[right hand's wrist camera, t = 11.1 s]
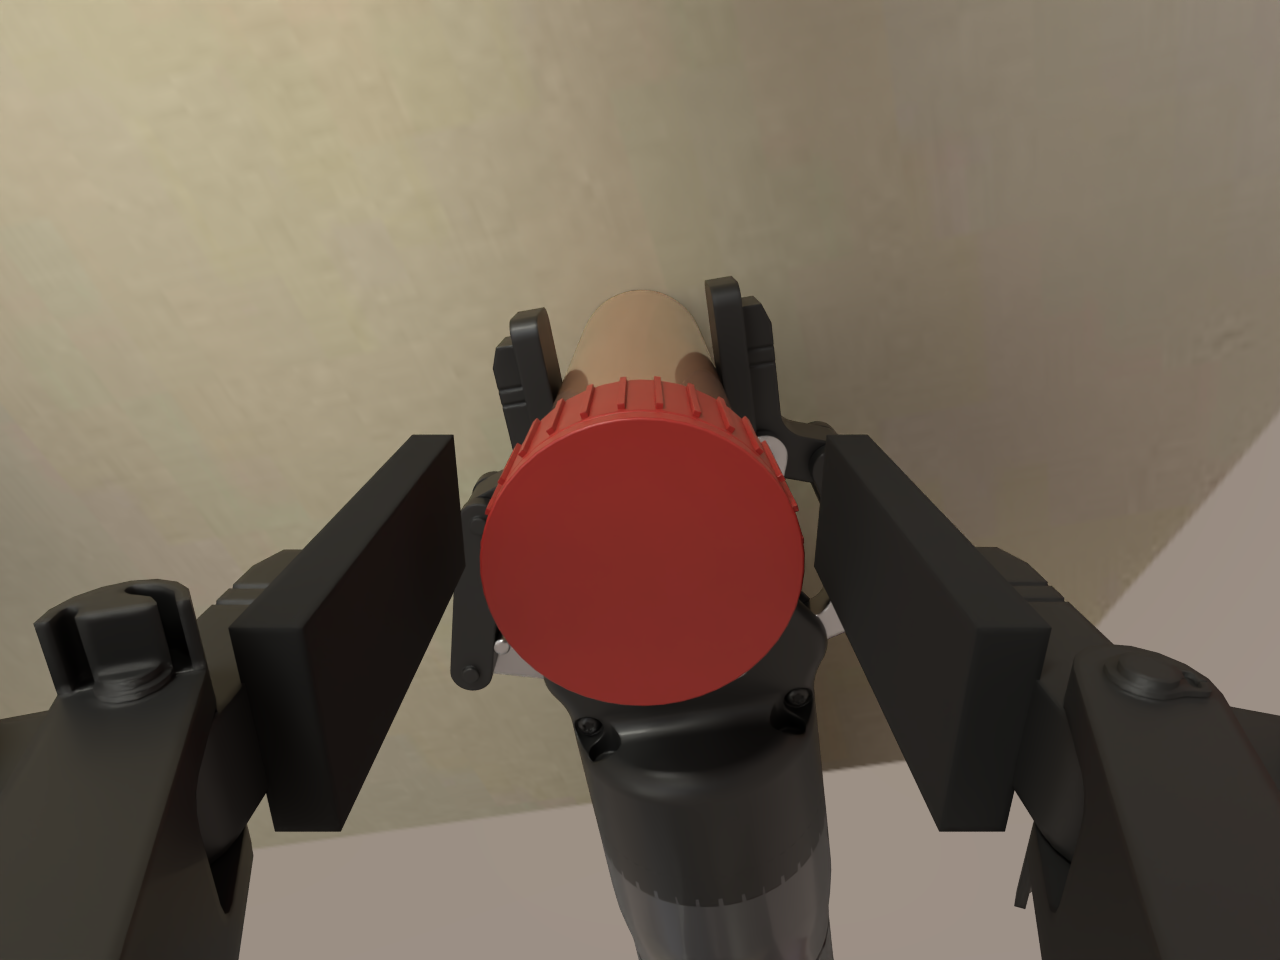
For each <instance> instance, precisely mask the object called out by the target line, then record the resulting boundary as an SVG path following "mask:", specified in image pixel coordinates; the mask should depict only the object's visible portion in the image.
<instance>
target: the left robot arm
mask: <svg viewBox="0 0 1280 960" xmlns="http://www.w3.org/2000/svg"><path fill="white" fill-rule="evenodd" d="M705 291H706V299H707V307H708V314H709V322H710V329H711V337H712V345H713V352H714V360H715V367H716V371H717V373H718V376H719V378H720V380H721V383H722V385H723V388H724V390H725V392H726V395H727V397H728V400H729V402H730V405H731V407H732V409H733V412H735V413H736V414H737V415H738V416H739V417H740V418H743V417H744V416H746V417H747V418H748V419H749V421H750V423H751V425H752V427H753V429H754V431H755V434H756V436H757V437H758V439H759V440H760V442H763V441H764V440H766V442H767V444H768V445H769V447H770V449H771V451H772V453H773V455H774V457H775V460H776V462H777V464H778V466H779V468H780V470H781V472H782V474H783V476H784V478H788V479H793V480H799V481H805V482H810V483H811V485H812V487H813V489H814V491H815V494H816V496H817V498H818V500H819V503H820V499H821V488H822V478H823V467H824V457H825V446H826V435H838V434H837V433H836V432H835V431H834V429H833V428H832V427H831V426H830V425H828V424H827V423H824V422H820V421H815V422H810V423H808V424H806V423H801V422H795V421H791V420H788V419H785V418H784V417H782V416H781V413H780V403H779V393H778V383H777V373H776V364H775V354H774V346H773V334H772V324H771V321H770V319H769V317H768V316H767V314H766V312H765V310H764V308H763V306H762V304H761V303H760V302H759V301H758V300H757V299H756V298H755V297H754V296H749V297H743V298H741V293H740V288H739V285H738V282H737V281H736V280H735V279H734V278H733V277H732V276H728V277H722V278H717V279H711V280H705ZM510 335H511V336H510V337H505V338H504V339H503V341H502V342H501V343H500V344H499V345H498V346H497V347H496V351H495V358H494V365H493V371H494V375H495V379H496V383H497V387H498V390H499V395H500V399H501V404H502V406H503V412H504V416H505V420H506V424H507V428H508V432H509V436H510V440H511V444H512V448H513V450H514V448H515V446H516V444H517V443H519V444H521V445H522V444H523V442H524V440H525V438H526V436H527V434H528V432H529V430H530V427H531V425H532V423H533V421H534V420H535V419H536V418H538V419H539V420H540V421H541V420H542V419H543V418H544V417H545V416H546V415H547V414H548V413H550V412H551V409H552V407H553V404H554V402H555V399H556V397H557V394H558V392H559V390H560V387H561V385H562V378H561V373H560V369H559V364H558V359H557V355H556V350H555V345H554V340H553V336H552V331H551V326H550V322H549V318H548V314H547V311H546V309H545V308H538V309H532V310H527V311H521V312H518V313H517V314H516V315H515V316H514V317H513V318H512V319H511V320H510ZM503 470H504V469H503ZM503 470H501V471H499V472H495V471H493V472H488V473H486V474H484V475H482V476H481V477H480V478H479V480H478V481H477V483H476V485H475V487H474V489H473V493H472V495H471V497H470V499H469V501H468V502H467V503H466V504H465V505H464V506H463V508H462V510H461V520H462V531H463V541H464V552H465V563H466V567H465V569H464V571H463V573H462V575H461V578H460V580H459V582H458V584H457V586H456V588H455V590H454V600H453V623H452V647H451V670H450V672H451V677H452V679H453V681H454V682H455V683H456V684H457V685H458V686H460V687H461V688H464V689H466V690H480V689H482V688H484V687H486V686H487V685H488V684H489V683H490V681H491V679H492V676H493V673H496V674H505V675H515V676H524V677H533V678H542V679H544V681H545V683H546V686H547V687H548V689H549V691H550V692H551V693H552V694H553V695H554V696H555V697H556V698H557V699H558V700H559V701H560V702H561V703H562V704H563V705H564V707H565V708H566V709H567V711H568V712H569V714H570V716H571V719H572V722H573V727H574V731H575V735H576V739H577V743H578V747H579V751H580V755H581V759H582V764H583V768H584V772H585V776H586V780H587V784H588V788H589V792H590V796H591V800H592V804H593V808H594V812H595V816H596V819H597V823H598V827H599V831H600V835H601V839H602V843H603V847H604V852H605V856H606V860H607V864H608V868H609V872H610V876H611V880H612V884H613V887H614V891H615V894H616V898H617V901H618V904H619V907H620V910H621V912H622V914H623V917H624V919H625V921H626V923H627V926H628V928H629V930H630V932H631V934H632V936H633V939H634V942H635V946H636V950H637V954H638V958H639V960H834V959H833V951H832V942H831V932H830V922H829V909H828V904H829V896H830V881H831V858H830V847H829V836H828V826H827V815H826V805H825V796H824V786H823V775H822V765H821V755H820V744H819V734H818V724H817V714H816V704H815V694H814V679H815V675H816V671H817V669H818V667H819V665H820V663H821V661H822V659H823V657H824V656H825V653H826V649H827V639H829V638H831V637H834V636H836V635H839V634H841V633H844V632H845V631H844V628H843V626H842V624H841V622H840V620H839V618H838V616H837V614H836V612H835V609H834V607H833V605H832V603H831V601H830V599H829V597H828V595H827V592H826V590H825V588H824V586H823V588H822V590H821V591H820V592H819V594H818V595H816V596H815V597H814V598H812V599H810V598H809V597H807V596H806V595H805V594H804V593H803V592H802V591H801V593H800V597H799V600H798V603H797V606H796V609H795V611H794V613H793V615H792V618H791V620H790V622H789V624H788V626H787V627H786V629H785V631H784V632H783V634H782V635H781V637H780V638H779V640H778V641H777V643H776V644H775V645H774V646H773V647H772V648H771V650H770V651H769V652H768V653H767V654H766V656H764V657H763V658H762V659H761V660H760V661H759V662H758V663H757V664H756V665H755V666H754V667H752V668H751V669H750V670H749V671H747V672H746V673H744V674H743V675H742V676H740V677H739V678H737V679H736V680H734V681H732V682H730V683H729V684H727V685H725V686H723V687H721V688H720V689H717V690H715V691H712V692H710V693H708V694H705V695H703V696H700V697H696V698H693V699H689V700H686V701H682V702H676V703H671V704H665V705H651V706H634V705H620V704H614V703H607V702H603V701H599V700H595V699H591V698H588V697H585V696H582V695H579V694H577V693H574V692H572V691H569V690H567V689H565V688H563V687H561V686H559V685H558V684H556V683H554V682H552V681H550V680H549V679H547V678H546V677H544V676H543V675H541V674H540V673H539V672H537V671H536V670H534V669H533V668H532V667H531V666H530V665H529V664H528V663H527V662H525V661H524V660H523V659H522V658H521V657H520V656H519V655H518V654H517V653H516V651H515V650H514V649H513V648H512V647H511V646H510V645H509V643H508V642H507V640H506V639H505V637H504V636H503V635H502V633H501V632H500V630H499V629H498V627H497V625H496V623H495V621H494V619H493V617H492V615H491V613H490V610H489V607H488V604H487V601H486V598H485V595H484V592H483V586H482V581H481V575H480V549H481V539H482V535H483V531H484V528H485V524H486V520H487V517H488V515H486V514H485V511H486V508H487V506H488V504H489V502H490V500H491V498H492V496H493V493H494V491H495V489H496V487H497V485H498V483H497V482H498V480H499V478H500V476H501V474H502V472H503Z"/></svg>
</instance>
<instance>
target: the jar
mask: <svg viewBox="0 0 1280 960" xmlns="http://www.w3.org/2000/svg"><path fill="white" fill-rule="evenodd" d="M654 376H657V377H661V381H665V382H671V383H676V384H680V385H683V386H687V384H688V383H691V384H694V387H695V389H696V390H698V391H700V392H702V393H705V394H707V395H709V396H711V397H713V398H715V399H717V398H718V397H721V398H723V399H724V401H725V403H726V406H727V407H729V408H730V409H731V410H732V411H733V409H732V407H731V405H730V402H729V400H728V397H727V395H726V392H725V390H724V388H723V385H722V383H721V380H720V378H719V376H718V373H717V371H716V368H715V366H714V364H713V361H712V359H711V356H710V354H709V351H708V349H707V347H706V344H705V342H704V339H703V337H702V335H701V332H700V330H699V327H698V325H697V323H696V321H695V320H694V318H693V317H692V315H691V314H690V313H689V311H688V310H687V309H686V308H685V307H684V306H683V305H682V304H680V303H679V302H678V301H676V300H675V299H673V298H671V297H669V296H667V295H665V294H662V293H659V292H655V291H650V290H633V291H628V292H624V293H621V294H618V295H616V296H614V297H612V298H610V299H609V300H607V301H606V302H604V303H603V304H602V305H601V306H600V307H599V308H598V309H596V311H595V312H594V313H593V314H592V316H591V317H590V319H589V320H588V322H587V324H586V326H585V328H584V331H583V333H582V336H581V338H580V341H579V343H578V345H577V348H576V350H575V353H574V355H573V358H572V360H571V363H570V365H569V368H568V370H567V372H566V375H565V377H564V380H563V382H562V385H561V387H560V390H559V392H558V394H557V397H556V399H555V402H554V404H553V407H552V409H551V411H552V410H553V409H555V406H556V404H557V401H558V400H560V399H562V398H563V399H564V400H565V401H566V400H568V399H570V398H572V397H574V396H576V395H578V394H580V393H582V392H584V391H586V388H587V386H588V385H591V384H593V385H594V387H598V386H601V385H604V384H609V383H614V382H619V381H620V377H627V380H640V379H641V380H654Z"/></svg>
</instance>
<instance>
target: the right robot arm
mask: <svg viewBox="0 0 1280 960" xmlns="http://www.w3.org/2000/svg"><path fill="white" fill-rule="evenodd" d="M465 567H466V563H465V552H464V541H463V531H462V520H461V510H460V499H459V488H458V478H457V467H456V457H455V446H454V435H412V436H411V437H410V438H409V439H408V440H407V441H406V442H405V443H404V444H403V445H402V446H401V447H400V448H399V449H398V450H397V452H396V453H395V454H394V455H393V456H392V457H391V458H390V459H389V460H388V461H387V462H386V463H385V464H384V465H383V466H382V467H381V468H380V469H379V470H378V471H377V472H376V473H375V475H374V476H373V477H372V478H371V479H370V480H369V481H368V482H367V483H366V484H365V485H364V486H363V487H362V488H361V489H360V490H359V491H358V492H357V493H356V494H355V495H354V496H353V498H352V499H351V500H350V501H349V502H348V503H347V504H346V505H345V506H344V507H343V508H342V509H341V510H340V511H339V512H338V513H337V514H336V515H335V516H334V517H333V518H332V519H331V521H330V522H329V523H328V524H327V525H326V526H325V527H324V528H323V529H322V530H321V531H320V532H319V533H318V534H317V535H316V536H315V537H314V538H313V539H312V540H311V541H310V542H309V544H308V545H307V546H306V547H305V548H304V549H303V550H282V551H280V552H278V553H276V554H275V555H273V556H271V557H269V558H267V559H265V560H263V561H261V562H259V563H257V564H255V565H254V566H252V567H251V568H250V569H249V570H248V571H247V572H246V573H245V574H244V575H243V576H242V577H241V578H240V579H239V580H238V581H236V582H235V583H234V584H233V589H228V590H227V591H226V592H225V593H224V594H223V595H222V596H221V597H220V598H219V599H218V600H217V601H216V602H217V603H216V605H211V606H210V607H209V608H208V609H207V610H206V611H205V612H204V613H203V614H202V615H201V616H200V617H199V618H198V619H197V620H196V616H195V612H194V608H193V604H192V600H191V596H190V592H189V589H188V588H187V587H185V586H183V585H182V584H180V583H178V582H175V581H168V580H161V579H151V580H136V581H128V582H123V583H119V584H114V585H109V586H105V587H101V588H98V589H95V590H92V591H89V592H86V593H83V594H81V595H78V596H75V597H72V598H71V599H69V600H67V601H65V602H63V603H61V604H59V605H57V606H55V607H54V608H52V609H50V610H48V611H47V612H46V613H45V614H44V615H43V616H42V617H40V618H39V619H38V620H37V621H36V622H35V623H34V627H35V630H36V633H37V636H38V638H39V641H40V644H41V647H42V650H43V653H44V656H45V659H46V662H47V665H48V668H49V671H50V674H51V677H52V680H53V683H54V686H55V689H56V692H57V697H56V699H55V701H54V702H53V704H52V706H51V707H50V709H49V710H48V711H43V712H38V713H32V714H27V715H21V716H16V717H11V718H5V719H0V960H238V959H239V952H240V945H241V938H242V931H243V924H244V917H245V910H246V903H247V896H248V889H249V882H250V875H251V868H252V861H253V851H252V844H251V839H250V835H249V831H248V827H247V822H248V821H249V819H250V818H251V816H252V814H253V813H254V811H255V810H256V808H257V807H258V805H259V803H260V802H261V800H262V799H263V797H264V795H265V794H267V799H268V803H269V807H270V812H271V816H272V820H273V825H274V829H275V832H341V830H342V828H343V826H344V824H345V821H346V819H347V817H348V815H349V813H350V811H351V809H352V807H353V804H354V802H355V800H356V798H357V796H358V794H359V792H360V790H361V788H362V785H363V783H364V781H365V779H366V777H367V775H368V773H369V771H370V768H371V766H372V764H373V762H374V760H375V758H376V756H377V754H378V751H379V749H380V747H381V745H382V743H383V741H384V739H385V737H386V734H387V732H388V730H389V728H390V726H391V724H392V722H393V720H394V718H395V715H396V713H397V711H398V709H399V707H400V705H401V703H402V701H403V698H404V696H405V694H406V692H407V690H408V688H409V686H410V684H411V681H412V679H413V677H414V675H415V673H416V671H417V669H418V667H419V665H420V662H421V660H422V658H423V656H424V654H425V652H426V650H427V648H428V645H429V643H430V641H431V639H432V637H433V635H434V633H435V631H436V628H437V626H438V624H439V622H440V620H441V618H442V616H443V614H444V612H445V609H446V607H447V605H448V603H449V601H450V599H451V597H452V595H453V592H454V590H455V588H456V586H457V584H458V582H459V580H460V578H461V575H462V573H463V571H464V569H465ZM814 567H815V569H816V571H817V573H818V575H819V578H820V580H821V582H822V584H823V586H824V588H825V590H826V592H827V595H828V597H829V599H830V601H831V603H832V605H833V607H834V609H835V612H836V614H837V616H838V618H839V620H840V622H841V624H842V626H843V628H844V631H845V633H846V635H847V637H848V639H849V641H850V643H851V645H852V648H853V650H854V652H855V654H856V656H857V658H858V660H859V662H860V665H861V667H862V669H863V671H864V673H865V675H866V677H867V679H868V681H869V684H870V686H871V688H872V690H873V692H874V694H875V696H876V698H877V701H878V703H879V705H880V707H881V709H882V711H883V713H884V715H885V718H886V720H887V722H888V724H889V726H890V728H891V730H892V732H893V735H894V737H895V739H896V741H897V743H898V745H899V747H900V749H901V751H902V754H903V756H904V758H905V760H906V762H907V764H908V766H909V768H910V771H911V773H912V775H913V777H914V779H915V781H916V783H917V785H918V788H919V790H920V792H921V794H922V796H923V798H924V800H925V802H926V804H927V807H928V809H929V811H930V813H931V815H932V817H933V819H934V821H935V824H936V826H937V828H938V830H939V831H940V832H990V831H991V832H1004V831H1005V829H1006V825H1007V820H1008V816H1009V812H1010V807H1011V803H1012V799H1013V794H1014V790H1015V791H1016V793H1017V795H1018V796H1019V798H1020V799H1021V801H1022V802H1023V804H1024V806H1025V807H1026V809H1027V810H1028V812H1029V814H1030V815H1031V817H1032V818H1033V820H1034V823H1033V827H1032V831H1031V835H1030V839H1029V843H1028V847H1027V851H1026V855H1025V859H1024V863H1023V867H1022V871H1021V875H1020V879H1019V883H1018V887H1017V892H1016V898H1015V905H1014V906H1016V907H1020V908H1023V909H1025V908H1026V904H1027V900H1028V896H1029V893H1030V892H1032V894H1033V901H1034V908H1035V915H1036V922H1037V929H1038V936H1039V943H1040V950H1041V956H1042V960H1280V716H1278V715H1273V714H1267V713H1262V712H1256V711H1251V710H1245V709H1240V708H1235V707H1230V706H1229V704H1228V703H1227V701H1226V699H1225V697H1224V696H1223V694H1222V693H1221V692H1220V691H1219V690H1218V689H1217V687H1216V686H1215V685H1214V684H1213V683H1212V682H1211V681H1210V680H1209V679H1208V678H1207V677H1205V676H1203V675H1202V674H1200V673H1199V672H1197V671H1195V670H1194V669H1192V668H1191V667H1189V666H1188V665H1186V664H1184V663H1181V662H1179V661H1176V660H1174V659H1172V658H1169V657H1167V656H1165V655H1162V654H1160V653H1157V652H1153V651H1149V650H1145V649H1141V648H1137V647H1133V646H1124V645H1114V644H1113V643H1111V642H1110V641H1109V640H1108V639H1107V638H1106V637H1105V636H1104V635H1103V634H1102V633H1101V632H1100V631H1099V630H1098V629H1097V628H1096V627H1095V626H1094V625H1092V624H1091V623H1090V622H1089V621H1088V620H1087V619H1086V618H1085V617H1084V616H1083V615H1082V614H1081V613H1080V612H1079V611H1078V610H1077V609H1076V608H1074V607H1073V606H1072V605H1071V604H1070V603H1069V602H1064V597H1063V596H1062V595H1061V594H1060V593H1059V592H1058V591H1056V590H1055V589H1054V588H1053V587H1052V586H1048V584H1047V583H1048V582H1047V581H1046V580H1045V579H1044V578H1043V577H1042V576H1041V575H1040V574H1038V573H1037V572H1036V571H1035V570H1034V569H1033V568H1032V567H1031V566H1030V565H1029V564H1028V563H1026V562H1024V561H1022V560H1020V559H1018V558H1017V557H1015V556H1013V555H1011V554H1009V553H1007V552H1005V551H1003V550H1001V549H999V548H997V547H974V546H973V545H972V544H971V542H970V541H969V540H968V539H967V538H966V537H965V536H964V535H963V534H962V533H961V532H960V531H959V530H958V529H957V528H956V527H955V526H954V525H953V524H952V523H951V522H950V521H949V519H948V518H947V517H946V516H945V515H944V514H943V513H942V512H941V511H940V510H939V509H938V508H937V507H936V506H935V505H934V504H933V503H932V502H931V501H930V500H929V499H928V498H927V496H926V495H925V494H924V493H923V492H922V491H921V490H920V489H919V488H918V487H917V486H916V485H915V484H914V483H913V482H912V481H911V480H910V479H909V478H908V477H907V476H906V475H905V473H904V472H903V471H902V470H901V469H900V468H899V467H898V466H897V465H896V464H895V463H894V462H893V461H892V460H891V459H890V458H889V457H888V456H887V455H886V454H885V453H884V452H883V450H882V449H881V448H880V447H879V446H878V445H877V444H876V443H875V442H874V441H873V440H872V439H871V438H870V437H869V436H868V435H826V446H825V457H824V467H823V478H822V488H821V499H820V510H819V520H818V531H817V541H816V552H815V563H814Z"/></svg>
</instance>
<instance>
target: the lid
mask: <svg viewBox="0 0 1280 960" xmlns="http://www.w3.org/2000/svg"><path fill="white" fill-rule="evenodd" d="M497 483H498V485H497V487H496V489H495V491H494V493H493V496H492V498H491V500H490V502H489V504H488V506H487V508H486V511H485V514H486V515H488V517H487V520H486V524H485V528H484V531H483V535H482V539H481V549H480V575H481V581H482V586H483V592H484V595H485V598H486V601H487V604H488V607H489V610H490V613H491V615H492V617H493V619H494V621H495V623H496V625H497V627H498V629H499V630H500V632H501V633H502V635H503V636H504V637H505V639H506V640H507V642H508V643H509V645H510V646H511V647H512V648H513V649H514V650H515V651H516V653H517V654H518V655H519V656H520V657H521V658H522V659H523V660H524V661H525V662H527V663H528V664H529V665H530V666H531V667H532V668H533V669H534V670H536V671H537V672H539V673H540V674H541V675H543V676H544V677H546V678H547V679H549V680H550V681H552V682H554V683H556V684H558V685H559V686H561V687H563V688H565V689H567V690H569V691H572V692H574V693H577V694H579V695H582V696H585V697H588V698H591V699H595V700H599V701H603V702H607V703H614V704H620V705H634V706H651V705H665V704H671V703H676V702H682V701H686V700H689V699H693V698H696V697H700V696H703V695H705V694H708V693H710V692H712V691H715V690H717V689H720V688H721V687H723V686H725V685H727V684H729V683H730V682H732V681H734V680H736V679H737V678H739V677H740V676H742V675H743V674H744V673H746V672H747V671H749V670H750V669H751V668H752V667H754V666H755V665H756V664H757V663H758V662H759V661H760V660H761V659H762V658H763V657H764V656H766V654H767V653H768V652H769V651H770V650H771V648H772V647H773V646H774V645H775V644H776V643H777V641H778V640H779V638H780V637H781V635H782V634H783V632H784V631H785V629H786V627H787V626H788V624H789V622H790V620H791V618H792V615H793V613H794V611H795V609H796V606H797V603H798V600H799V597H800V593H801V590H802V584H803V577H804V557H805V552H804V545H803V544H804V538H803V535H802V532H801V529H800V526H799V522H798V519H797V516H796V513H795V512H797V511H799V509H798V506H797V504H796V502H795V500H794V498H793V496H792V494H791V492H790V490H789V488H788V486H787V484H786V481H785V478H784V476H783V474H782V472H781V470H780V468H779V466H778V464H777V462H776V460H775V457H774V455H773V453H772V451H771V449H770V447H769V445H768V444H767V442H766V440H764V441H763V442H760V440H759V439H758V437H757V436H756V434H755V431H754V429H753V427H752V425H751V423H750V421H749V419H748V418H747V417H746V416H744V417H743V418H740V417H739V416H738V415H737V414H736V413H735V412H733V411H732V410H731V409H730V408H729V407H727V406H726V403H725V401H724V399H723V398H721V397H718V398H717V399H715V398H713V397H711V396H709V395H707V394H705V393H702V392H700V391H698V390H696V389H695V387H694V384H691V383H688V384H687V386H683V385H680V384H676V383H671V382H665V381H661V377H657V376H654V380H641V379H640V380H627V377H620V381H619V382H614V383H609V384H604V385H601V386H598V387H594V385H593V384H591V385H588V386H587V388H586V391H584V392H582V393H580V394H578V395H576V396H574V397H572V398H570V399H568V400H566V401H565V400H564V399H563V398H562V399H560V400H558V401H557V404H556V406H555V409H553V410H552V411H551V412H550V413H548V414H547V415H546V416H545V417H544V418H543V419H542V420H541V421H540V420H539V419H538V418H536V419H535V420H534V421H533V423H532V425H531V427H530V430H529V432H528V434H527V436H526V438H525V440H524V442H523V444H522V445H521V444H519V443H517V444H516V446H515V448H514V450H513V452H512V454H511V456H510V458H509V460H508V462H507V464H506V466H505V468H504V470H503V472H502V474H501V476H500V478H499V480H498V482H497Z"/></svg>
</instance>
